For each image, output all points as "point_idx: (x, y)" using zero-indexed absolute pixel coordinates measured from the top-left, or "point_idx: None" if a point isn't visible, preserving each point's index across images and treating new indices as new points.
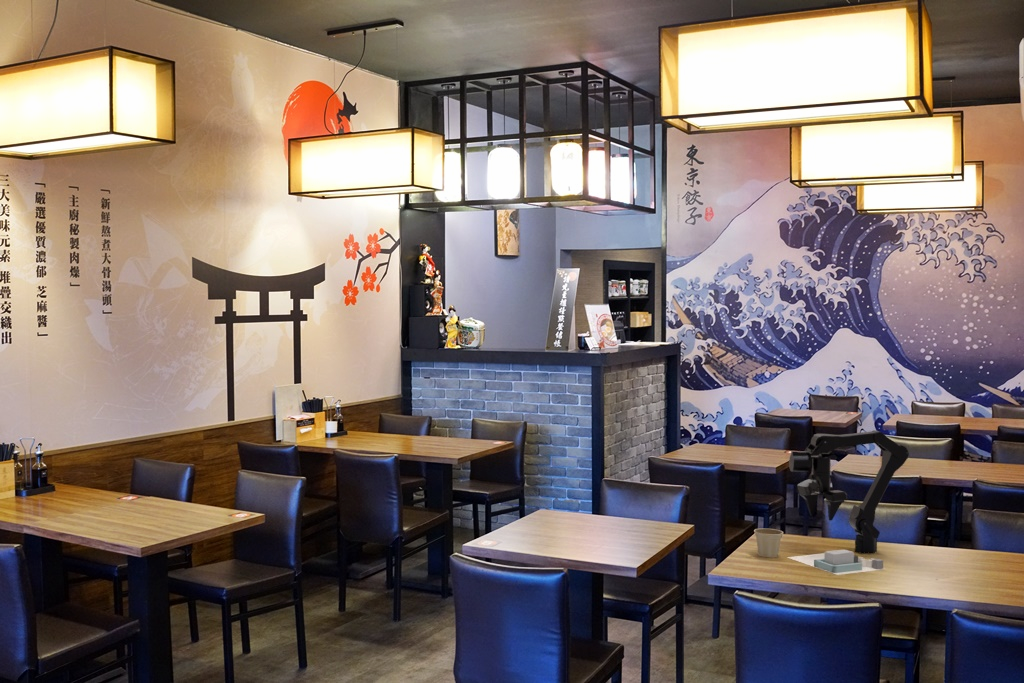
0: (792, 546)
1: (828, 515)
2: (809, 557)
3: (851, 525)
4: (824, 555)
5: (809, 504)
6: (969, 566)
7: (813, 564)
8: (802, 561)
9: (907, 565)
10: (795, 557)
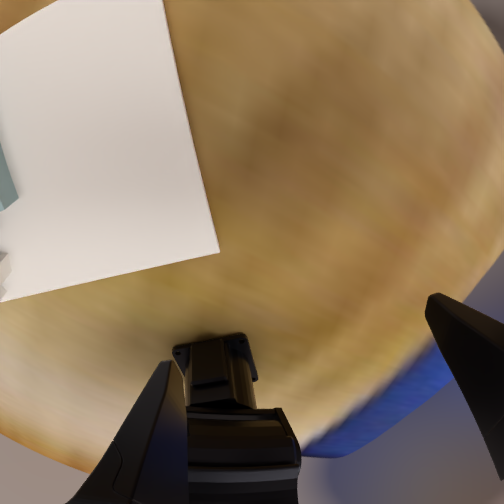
0: (413, 146)
1: (158, 394)
2: (124, 76)
3: (262, 426)
4: (158, 179)
5: (500, 357)
6: (92, 452)
7: (3, 57)
8: (56, 16)
9: (69, 385)
10: (140, 3)
